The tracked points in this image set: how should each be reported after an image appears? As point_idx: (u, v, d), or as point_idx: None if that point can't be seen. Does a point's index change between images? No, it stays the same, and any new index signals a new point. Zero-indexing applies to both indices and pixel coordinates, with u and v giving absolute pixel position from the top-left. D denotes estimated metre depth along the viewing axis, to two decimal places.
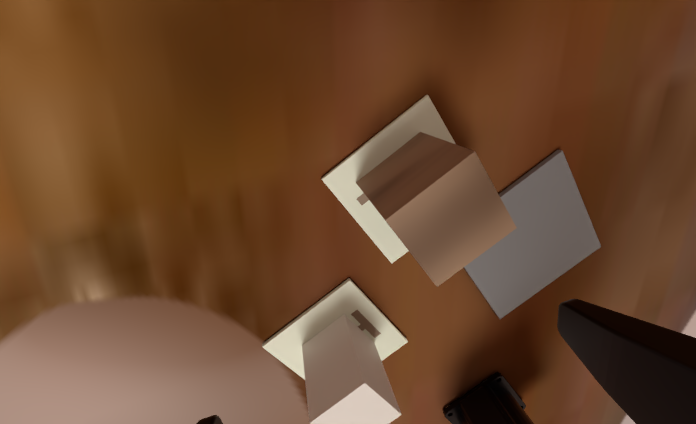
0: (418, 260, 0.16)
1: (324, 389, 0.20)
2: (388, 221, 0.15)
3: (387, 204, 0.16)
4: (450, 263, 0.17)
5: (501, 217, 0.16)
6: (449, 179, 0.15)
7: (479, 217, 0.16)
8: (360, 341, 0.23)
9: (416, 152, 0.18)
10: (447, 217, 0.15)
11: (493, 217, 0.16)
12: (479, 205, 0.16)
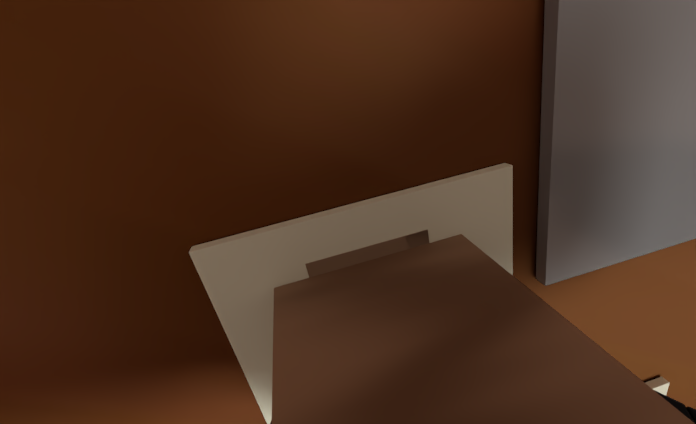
0: None
1: None
2: None
3: None
4: None
5: None
6: None
7: None
8: None
9: None
10: None
11: None
12: None
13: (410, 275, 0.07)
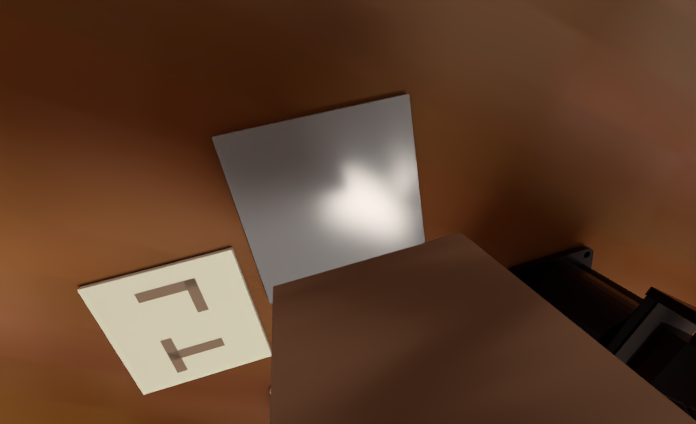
0: None
1: None
2: None
3: None
4: None
5: None
6: None
7: None
8: None
9: None
10: None
11: None
12: None
13: (410, 273, 0.07)
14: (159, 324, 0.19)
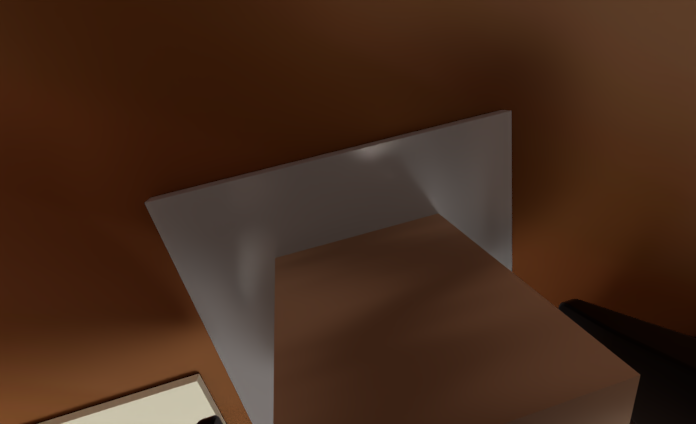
0: None
1: None
2: None
3: None
4: None
5: (563, 421, 0.04)
6: None
7: None
8: None
9: None
10: None
11: None
12: None
13: (392, 245, 0.09)
14: None
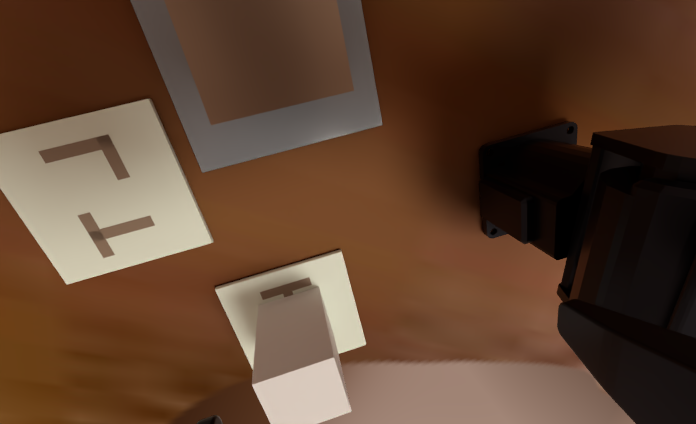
0: (296, 102, 0.11)
1: None
2: (214, 122, 0.11)
3: None
4: (325, 56, 0.11)
5: None
6: (179, 6, 0.10)
7: None
8: (279, 317, 0.19)
9: None
10: (243, 33, 0.10)
11: None
12: None
13: None
14: (73, 193, 0.16)
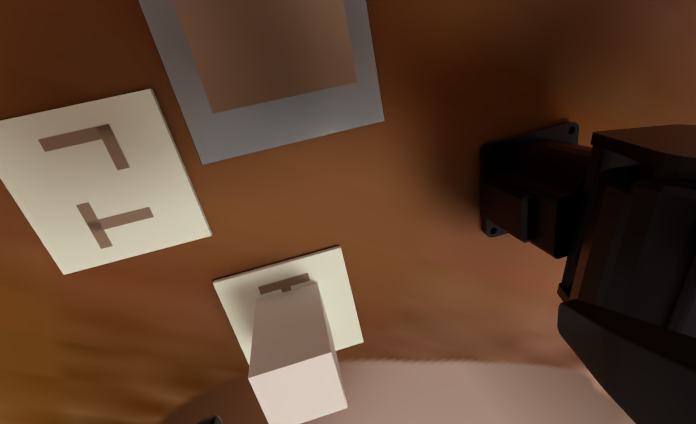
0: (298, 92, 0.11)
1: None
2: (216, 110, 0.11)
3: None
4: (329, 46, 0.11)
5: None
6: None
7: None
8: (277, 312, 0.19)
9: None
10: (247, 21, 0.10)
11: None
12: None
13: None
14: (72, 182, 0.16)
